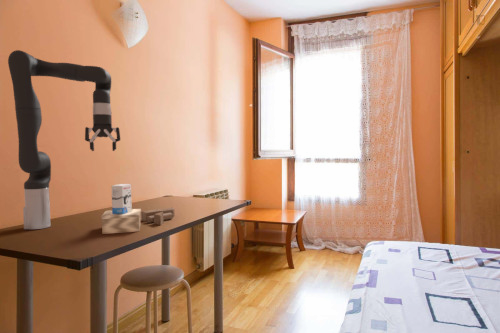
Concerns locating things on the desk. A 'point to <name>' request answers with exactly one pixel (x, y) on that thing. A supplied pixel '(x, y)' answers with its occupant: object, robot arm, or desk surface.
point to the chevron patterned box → (121, 222)
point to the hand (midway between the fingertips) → (103, 150)
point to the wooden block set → (157, 215)
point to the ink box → (121, 198)
